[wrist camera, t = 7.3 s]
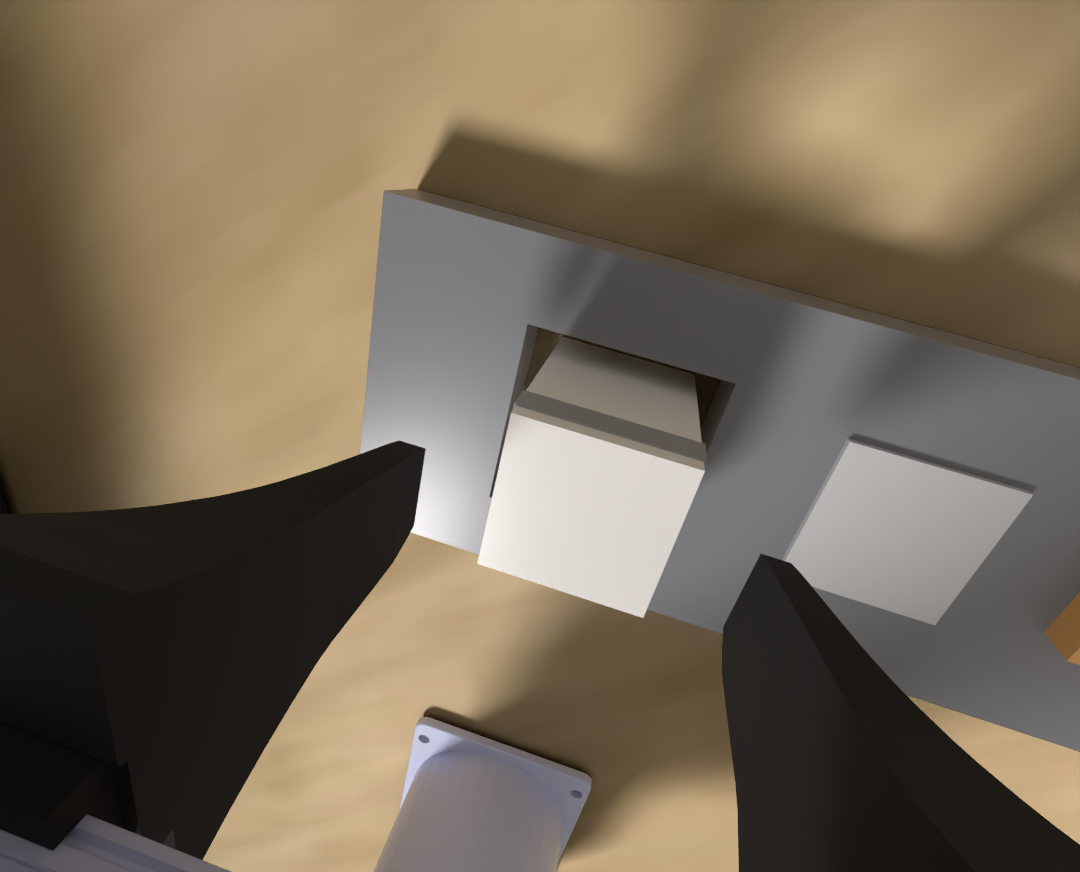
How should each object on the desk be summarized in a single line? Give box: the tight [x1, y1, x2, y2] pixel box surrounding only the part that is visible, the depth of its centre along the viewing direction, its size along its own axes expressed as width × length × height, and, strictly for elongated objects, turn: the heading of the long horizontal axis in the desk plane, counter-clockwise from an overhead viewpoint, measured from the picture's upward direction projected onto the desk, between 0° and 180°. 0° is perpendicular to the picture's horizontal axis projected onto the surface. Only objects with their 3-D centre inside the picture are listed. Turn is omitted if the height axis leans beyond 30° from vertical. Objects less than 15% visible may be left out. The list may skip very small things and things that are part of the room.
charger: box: [477, 337, 707, 618], centre depth 15 cm, size 4×4×6 cm
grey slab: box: [360, 189, 1080, 752], centre depth 16 cm, size 24×10×3 cm, turn 77°
